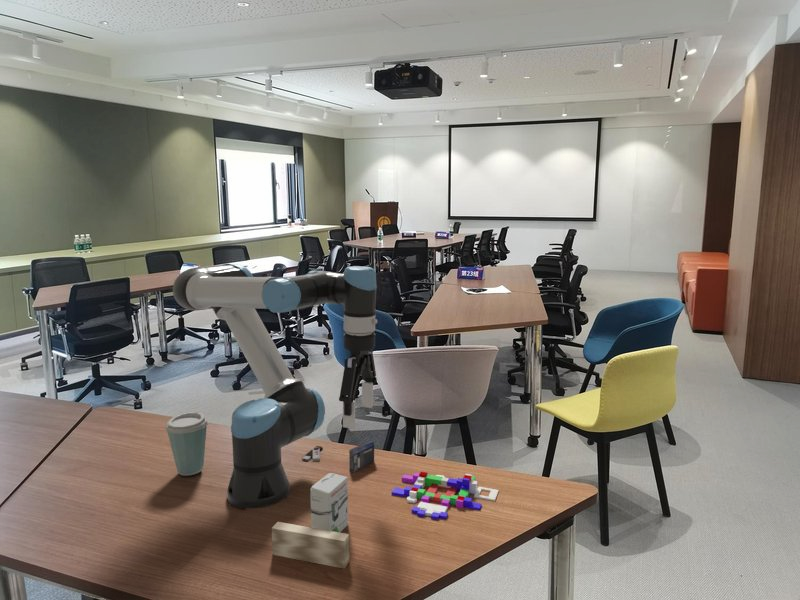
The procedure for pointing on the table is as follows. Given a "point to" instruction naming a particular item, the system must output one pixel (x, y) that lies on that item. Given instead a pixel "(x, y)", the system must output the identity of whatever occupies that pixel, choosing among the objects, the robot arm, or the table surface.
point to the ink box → (330, 503)
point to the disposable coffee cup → (188, 441)
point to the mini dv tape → (361, 456)
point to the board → (310, 544)
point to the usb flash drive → (313, 454)
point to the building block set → (440, 481)
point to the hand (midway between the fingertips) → (358, 416)
